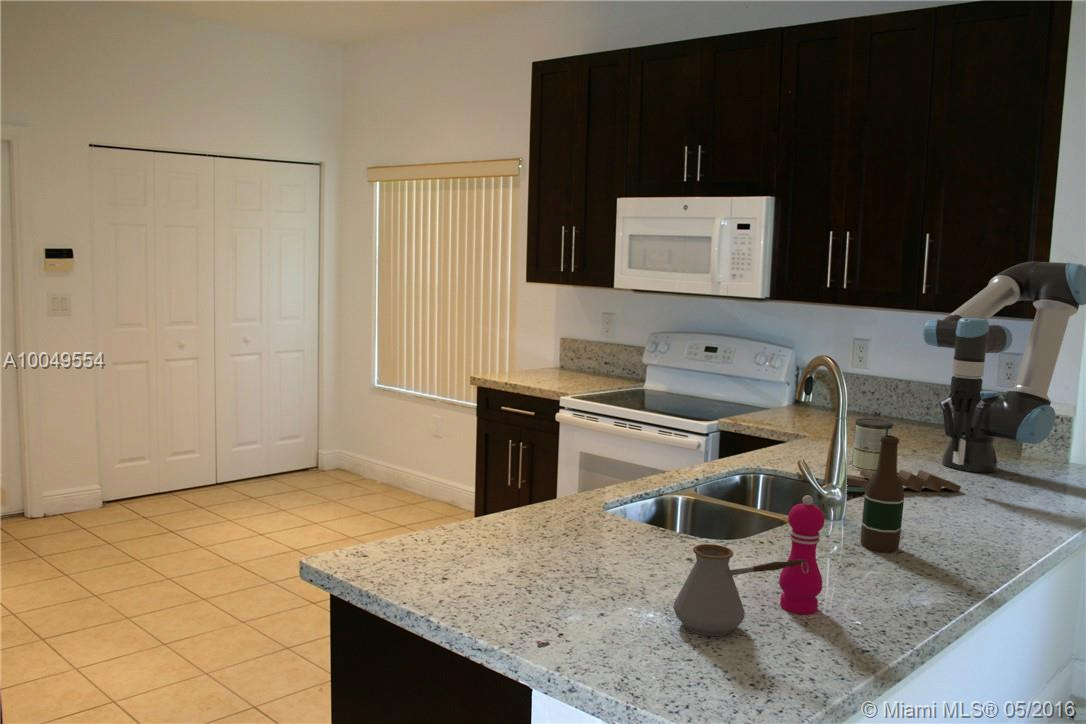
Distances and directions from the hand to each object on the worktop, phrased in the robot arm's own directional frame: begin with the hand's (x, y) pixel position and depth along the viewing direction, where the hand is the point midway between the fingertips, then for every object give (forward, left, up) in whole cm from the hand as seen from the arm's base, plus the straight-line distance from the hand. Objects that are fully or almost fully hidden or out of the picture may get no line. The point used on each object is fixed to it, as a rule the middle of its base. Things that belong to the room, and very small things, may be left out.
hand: (957, 463), depth 244 cm
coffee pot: (+91, +90, -8) cm, 128 cm away
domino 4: (+11, 0, -7) cm, 13 cm away
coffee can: (+13, -22, -8) cm, 27 cm away
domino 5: (+6, 0, -7) cm, 9 cm away
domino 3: (+17, 0, -7) cm, 18 cm away
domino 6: (0, 0, -7) cm, 7 cm away
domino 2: (+26, 0, -7) cm, 27 cm away
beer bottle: (+45, +47, -8) cm, 66 cm away
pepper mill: (+76, +79, -8) cm, 110 cm away
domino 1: (+24, +1, -6) cm, 25 cm away
